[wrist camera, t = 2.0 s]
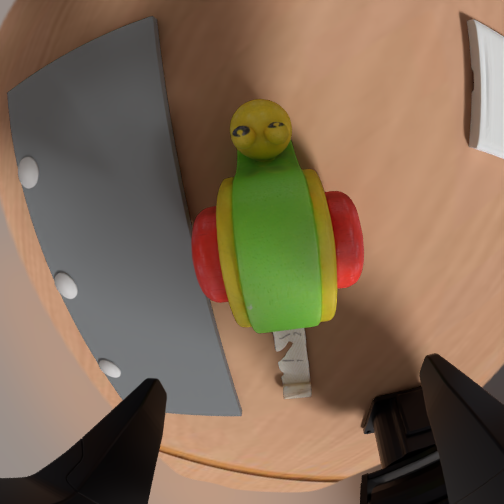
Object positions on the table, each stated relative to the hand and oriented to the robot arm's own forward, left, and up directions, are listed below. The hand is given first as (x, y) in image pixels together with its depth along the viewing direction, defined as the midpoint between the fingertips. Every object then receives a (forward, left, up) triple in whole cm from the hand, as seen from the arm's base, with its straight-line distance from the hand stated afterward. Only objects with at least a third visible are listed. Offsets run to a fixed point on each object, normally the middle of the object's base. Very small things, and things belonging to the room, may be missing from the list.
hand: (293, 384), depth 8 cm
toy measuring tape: (-1, 0, -9) cm, 9 cm away
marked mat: (0, +10, -8) cm, 13 cm away
